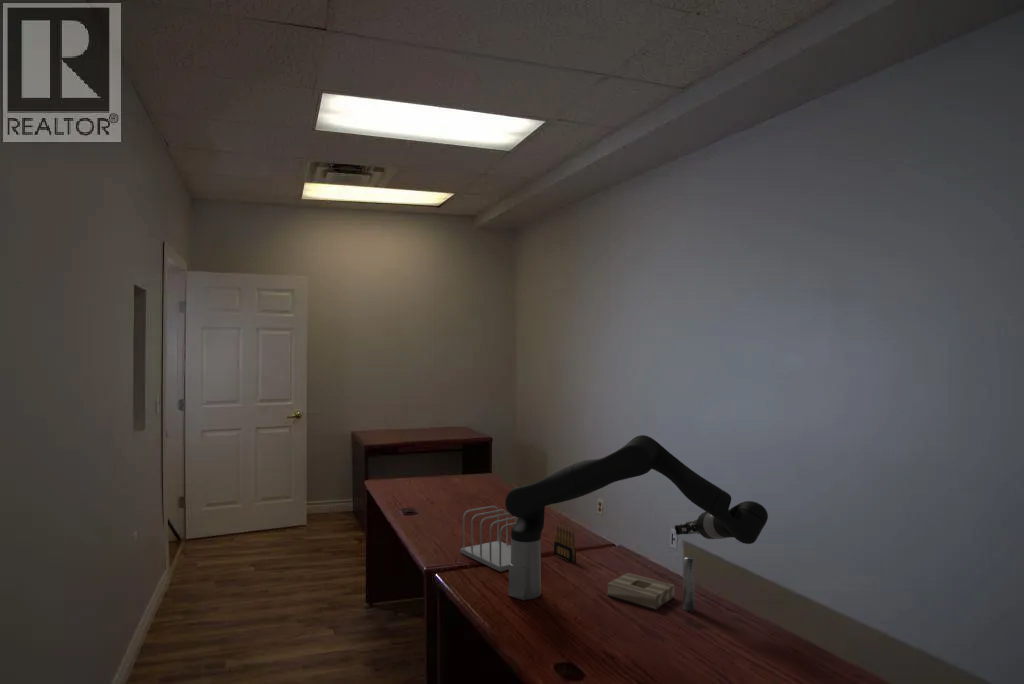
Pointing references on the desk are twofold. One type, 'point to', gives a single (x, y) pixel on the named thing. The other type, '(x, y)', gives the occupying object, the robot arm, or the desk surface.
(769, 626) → the desk surface
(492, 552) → the file sorter
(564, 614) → the desk surface
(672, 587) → the socket block
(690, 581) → the steel pin
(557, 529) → the ammunition clip
